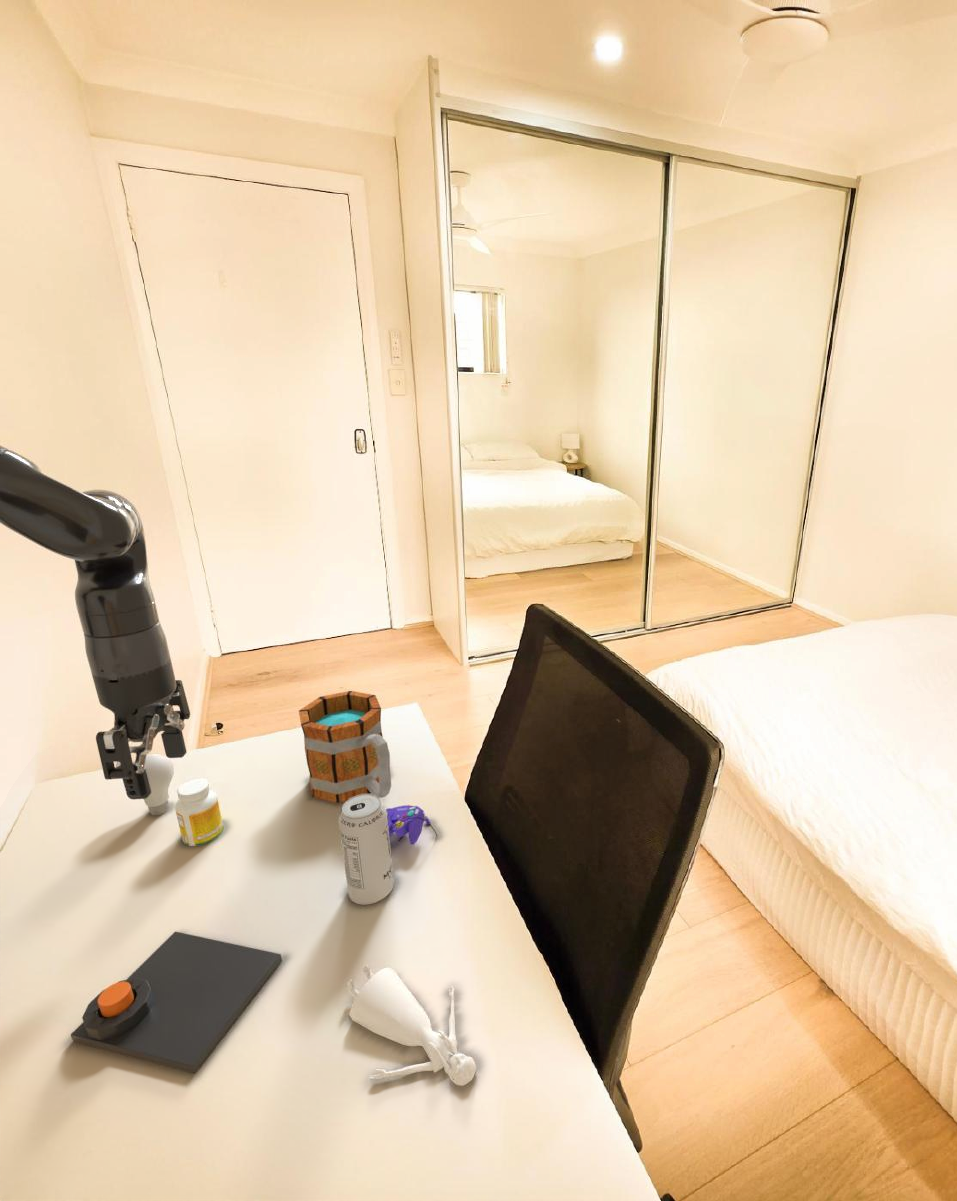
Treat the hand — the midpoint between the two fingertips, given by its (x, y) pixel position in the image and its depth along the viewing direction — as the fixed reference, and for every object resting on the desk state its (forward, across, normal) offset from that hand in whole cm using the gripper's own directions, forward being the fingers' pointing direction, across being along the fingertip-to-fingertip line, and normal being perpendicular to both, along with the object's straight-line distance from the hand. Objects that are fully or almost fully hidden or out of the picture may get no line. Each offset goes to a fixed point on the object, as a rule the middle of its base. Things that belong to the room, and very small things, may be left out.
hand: (159, 775), depth 76 cm
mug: (+20, -21, +18) cm, 34 cm away
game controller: (+20, -8, +28) cm, 35 cm away
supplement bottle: (+20, -11, -3) cm, 23 cm away
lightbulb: (+20, -18, -12) cm, 29 cm away
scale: (+20, +17, +7) cm, 27 cm away
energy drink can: (+20, +3, +25) cm, 32 cm away
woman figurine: (+20, +24, +34) cm, 45 cm away
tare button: (+16, +18, +2) cm, 25 cm away
